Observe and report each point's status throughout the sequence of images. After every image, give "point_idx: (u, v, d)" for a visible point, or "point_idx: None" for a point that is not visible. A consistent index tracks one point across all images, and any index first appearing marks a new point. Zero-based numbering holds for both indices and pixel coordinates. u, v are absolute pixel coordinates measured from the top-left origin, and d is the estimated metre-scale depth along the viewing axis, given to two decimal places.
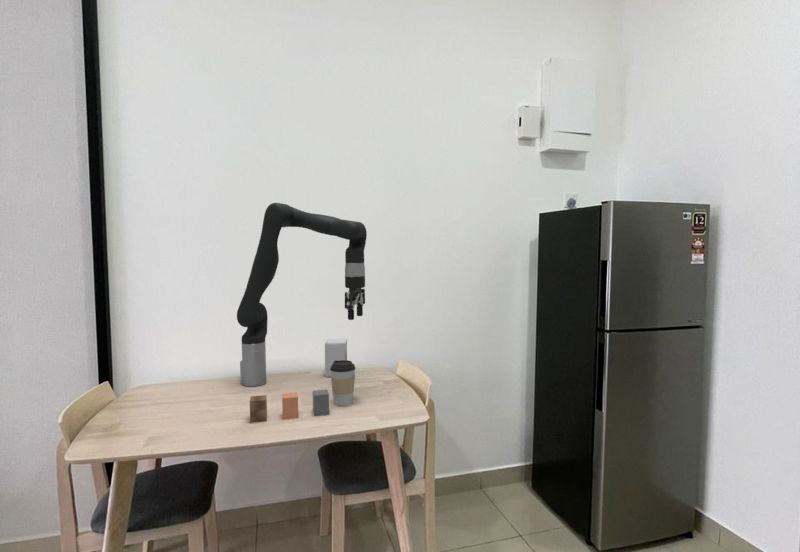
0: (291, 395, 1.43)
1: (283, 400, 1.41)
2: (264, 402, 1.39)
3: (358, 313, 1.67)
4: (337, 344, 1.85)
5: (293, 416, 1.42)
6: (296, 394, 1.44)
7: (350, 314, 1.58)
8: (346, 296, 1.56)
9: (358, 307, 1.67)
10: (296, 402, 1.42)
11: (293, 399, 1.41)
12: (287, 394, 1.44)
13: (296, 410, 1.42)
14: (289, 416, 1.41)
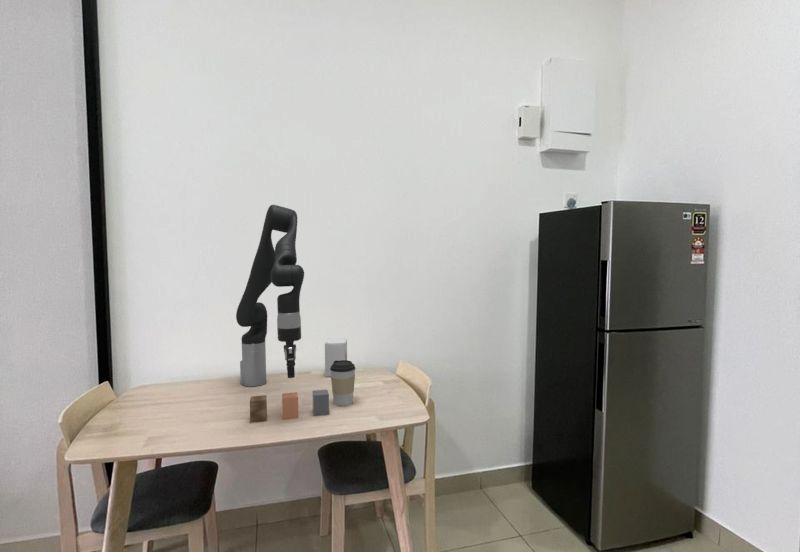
0: (291, 395, 1.43)
1: (283, 400, 1.41)
2: (264, 402, 1.39)
3: None
4: (337, 344, 1.85)
5: (293, 416, 1.42)
6: (296, 394, 1.44)
7: None
8: None
9: None
10: (296, 402, 1.42)
11: (293, 399, 1.41)
12: (287, 394, 1.44)
13: (296, 410, 1.42)
14: (289, 416, 1.41)
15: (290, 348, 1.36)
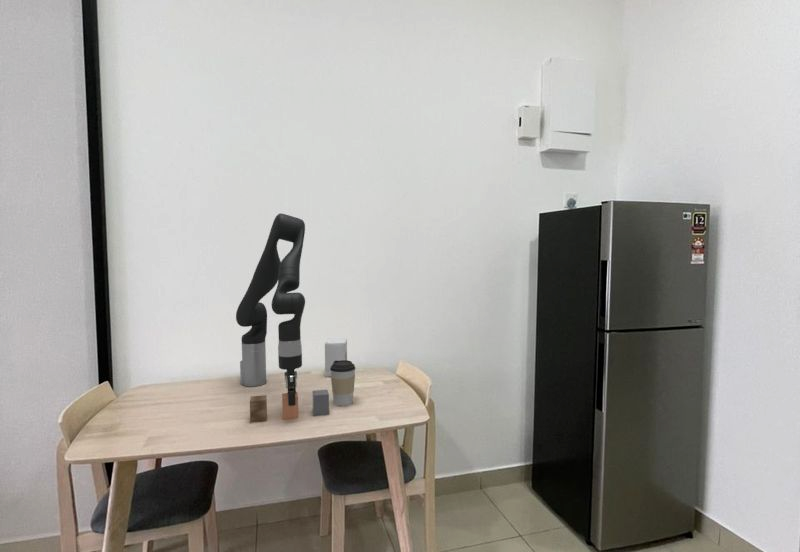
0: None
1: (283, 400, 1.41)
2: (264, 402, 1.39)
3: None
4: (337, 344, 1.85)
5: (293, 416, 1.42)
6: (296, 394, 1.44)
7: None
8: None
9: None
10: (296, 402, 1.42)
11: None
12: (287, 394, 1.44)
13: (296, 410, 1.42)
14: (289, 416, 1.41)
15: (291, 376, 1.37)
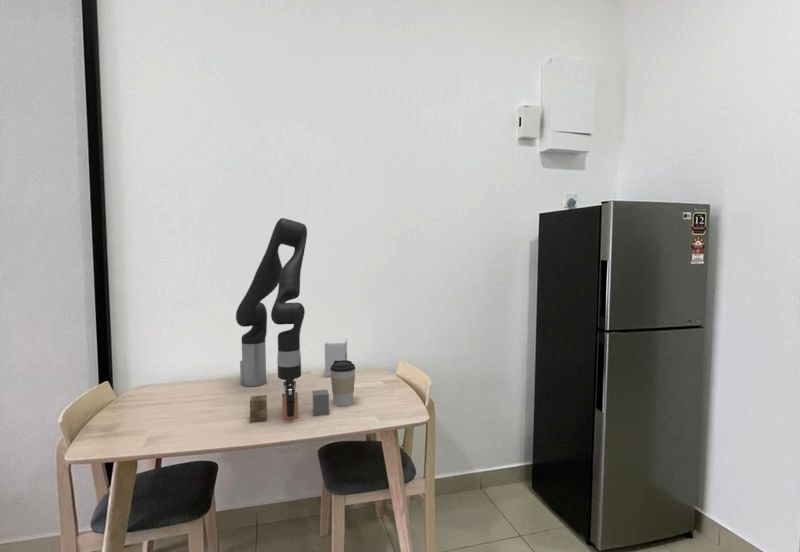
0: None
1: (283, 400, 1.41)
2: (264, 402, 1.39)
3: None
4: (337, 344, 1.85)
5: (293, 416, 1.42)
6: (296, 394, 1.44)
7: None
8: None
9: None
10: (296, 402, 1.42)
11: None
12: None
13: (296, 410, 1.42)
14: None
15: (290, 390, 1.37)
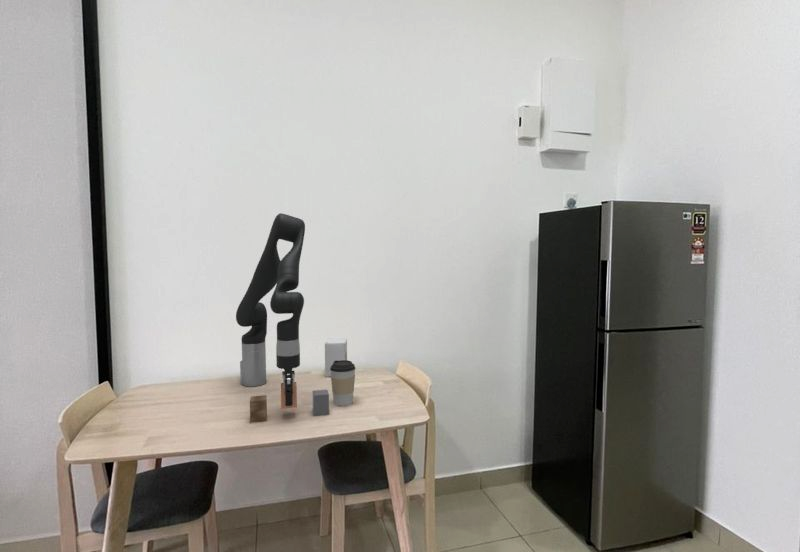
0: None
1: (282, 389, 1.40)
2: (264, 402, 1.39)
3: None
4: (337, 344, 1.85)
5: (292, 405, 1.42)
6: (295, 384, 1.44)
7: None
8: None
9: None
10: (295, 391, 1.41)
11: None
12: None
13: (295, 399, 1.42)
14: None
15: (288, 379, 1.37)
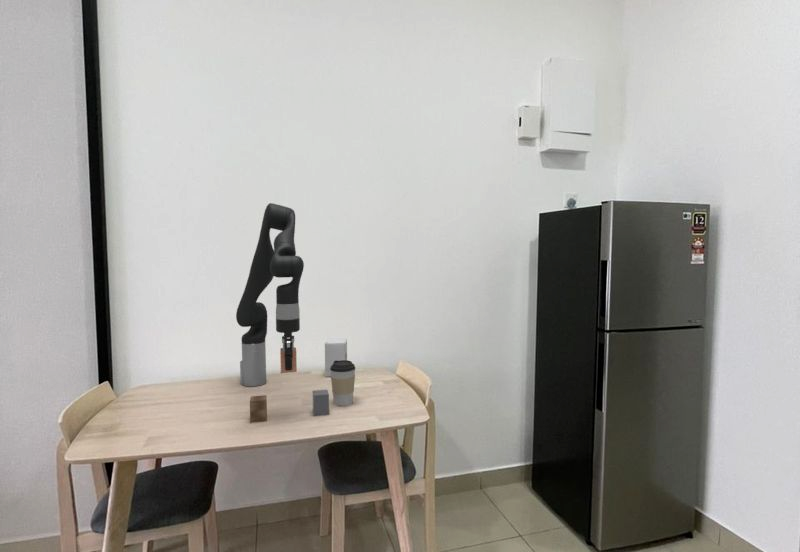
0: None
1: (281, 353, 1.39)
2: (264, 402, 1.39)
3: None
4: (337, 344, 1.85)
5: (291, 370, 1.41)
6: (294, 349, 1.43)
7: None
8: None
9: None
10: (294, 356, 1.41)
11: (292, 353, 1.40)
12: None
13: (294, 364, 1.41)
14: None
15: (288, 343, 1.36)
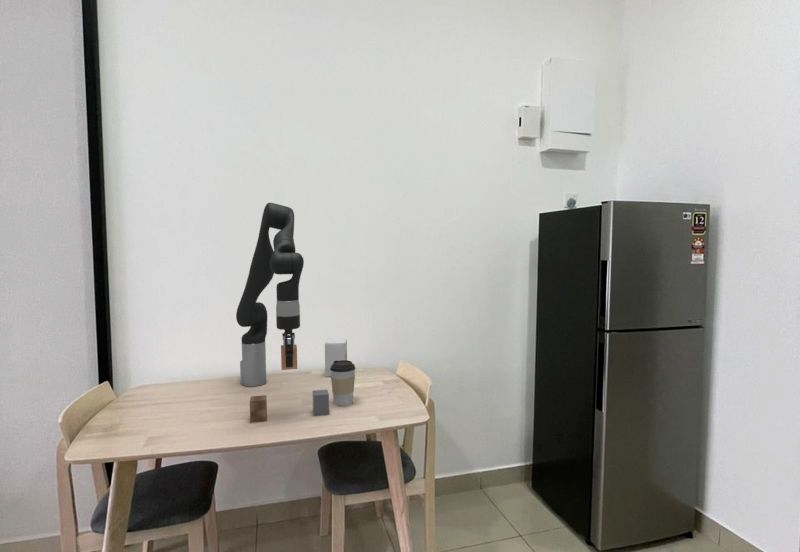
0: None
1: (282, 350, 1.39)
2: (264, 402, 1.39)
3: None
4: (337, 344, 1.85)
5: (292, 367, 1.41)
6: (295, 345, 1.43)
7: None
8: None
9: None
10: (295, 353, 1.41)
11: None
12: None
13: (295, 361, 1.41)
14: (288, 367, 1.40)
15: (289, 339, 1.36)
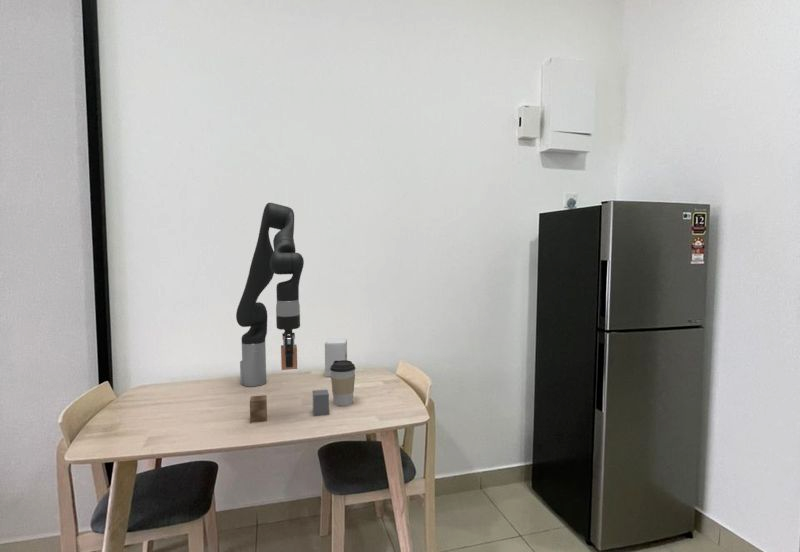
0: None
1: (282, 350, 1.39)
2: (264, 402, 1.39)
3: None
4: (337, 344, 1.85)
5: (292, 367, 1.41)
6: (295, 345, 1.43)
7: None
8: None
9: None
10: (295, 353, 1.41)
11: None
12: None
13: (295, 361, 1.41)
14: (288, 367, 1.40)
15: (289, 339, 1.36)
